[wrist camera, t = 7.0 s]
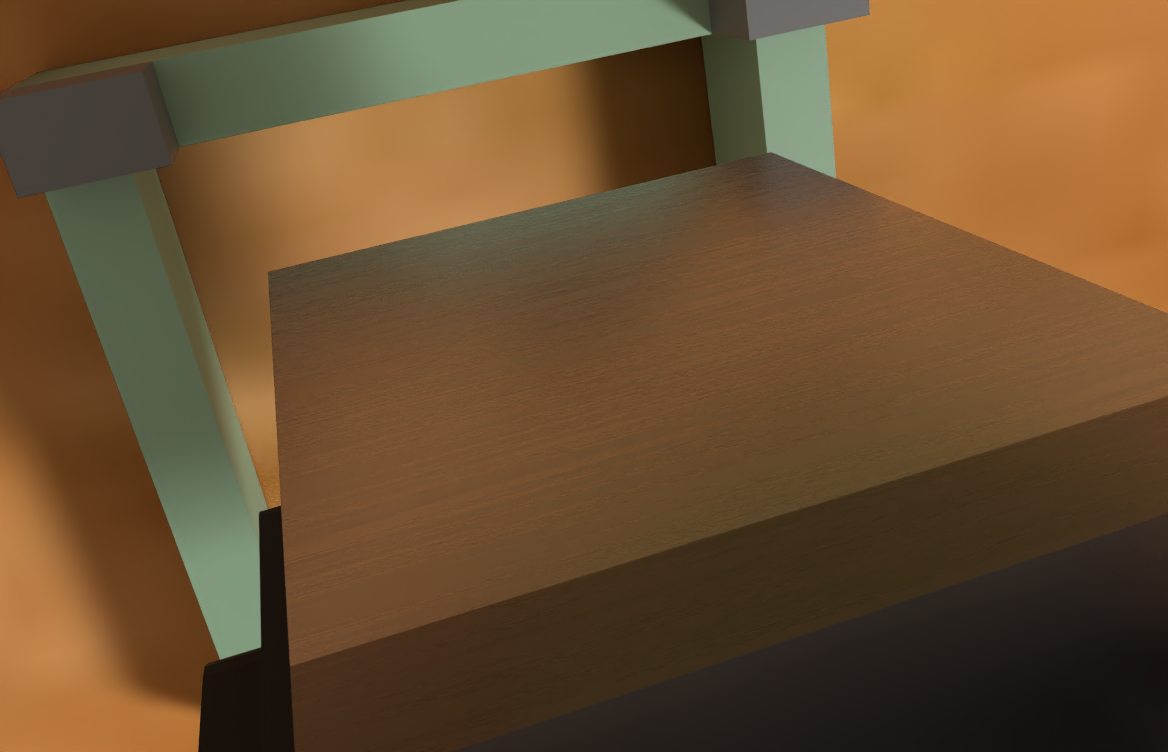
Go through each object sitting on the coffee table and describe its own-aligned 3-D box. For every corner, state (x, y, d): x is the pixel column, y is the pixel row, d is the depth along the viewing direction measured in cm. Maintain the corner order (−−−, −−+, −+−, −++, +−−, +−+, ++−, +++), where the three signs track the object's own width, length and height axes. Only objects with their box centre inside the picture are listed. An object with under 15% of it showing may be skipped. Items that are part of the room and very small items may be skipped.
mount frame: (814, 561, 20) (906, 661, 17) (276, 730, 18) (279, 875, 15) (754, -68, 16) (864, -72, 13) (38, 72, 14) (-19, 103, 11)
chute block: (820, 696, 14) (1277, 1299, 8) (435, 829, 13) (605, 1637, 7) (770, 152, 11) (1440, 424, 5) (268, 272, 10) (298, 804, 4)
